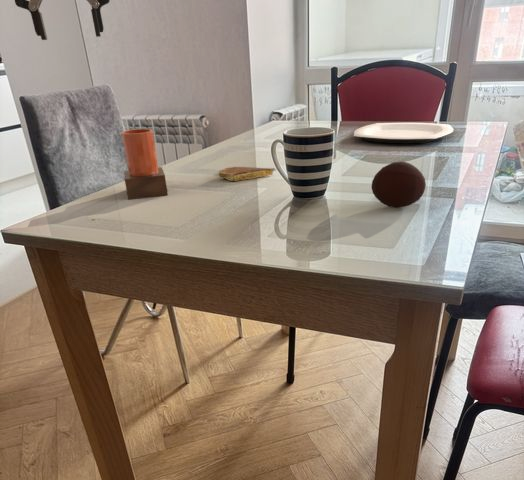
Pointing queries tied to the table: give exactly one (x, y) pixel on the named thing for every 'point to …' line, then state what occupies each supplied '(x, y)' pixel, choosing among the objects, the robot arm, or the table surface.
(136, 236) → the table surface
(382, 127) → the plate
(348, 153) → the table surface
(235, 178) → the cake slice
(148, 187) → the block
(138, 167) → the cup
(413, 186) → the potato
